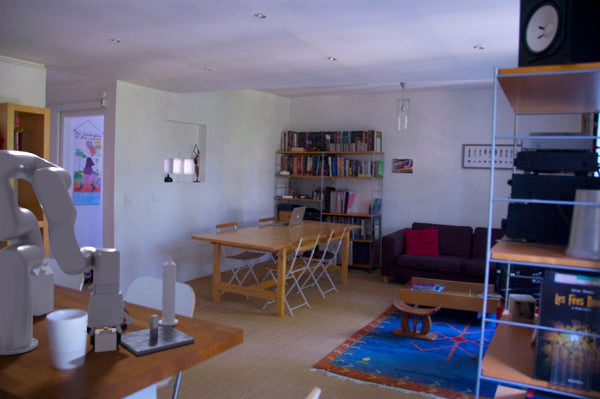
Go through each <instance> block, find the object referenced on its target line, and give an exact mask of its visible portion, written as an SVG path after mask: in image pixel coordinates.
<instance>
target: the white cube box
mask: <svg viewBox="0 0 600 399" xmlns="http://www.w3.org/2000/svg"><path fill="white" fill-rule="evenodd" d="M116 331H117V328H116V327H115V328H114V327H113V328H109V326H108V327H103V328H102V329H99V328H98V329H95V348H94V353H100V352H101V353H102V352H111V351H116V350H117V346H116Z"/></svg>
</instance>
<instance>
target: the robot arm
mask: <svg viewBox="0 0 600 399" xmlns="http://www.w3.org/2000/svg"><path fill="white" fill-rule="evenodd" d="M12 179H22V180H23V181H24V180H25V181H27V182H29V183H30V184H31V188H32V189H33V191H34V193H35V196H36V198H37V200H38V202H39V205H40V207H41V209H42V212H43V214H44V216H45V218H46V221H47V233H48V240H49V246H50V249H51V252H52V255H53V256H54V259H55V261H56V263H57V265H58V267H59V269H60V270H61V271H62V272H63V274H66V275H67V276H71V277H75V276H76V277H77V276H80V275H81V274H84V273H86V272H87V271H91V270H93V280H92V281H93V282H92V284H90V285H87V290H88V291H92V292H91V293H90V296H89V300H88V307H87V308H88V309H87V310H88V312H87V314H88V320H87V332H86V333H87V334H88V335H89V346H92V348H91V349H95V330H97V328H104V327H108V328H109V327H115V328H116V347H119V344H120V343H119V342H121V334H123V331H124V330H125V329H126V328H128V326H129V325H130V324H131V323H132V322H133V321H134V320H133V317H131V316H130V314H129V315H128V314H127V313H126V312H124V305H123V298H124V297H123V292H122V291H121V290H120V284H121V283H120V278H121V274H120V273H121V269H120V268H121V252H120V250H119V249H118V248H114V247H104V248H103V247H102V248H101V247H93V246H86V245H83V246H79V243H78V241H77V239H76V238H77V237H76V234H75V224H76V220H77V217H78V210H77V208H76V207H75V204H74V201H73V200H72V197H71V195H70V192H69V190H70V188H71V187H72V183H73V182H72V176H71V175H70V173H69V172H68V171H67V170H66V169H65V168H63V167H61V166H58V165H56V164H54V163H53V162H50V161H47V160H46V159H44V158H41V157H39V156H37V155H36V154H33V153H30V152H28V151H21V150H16V149H0V241H1V242H9V241H10V245H7V246H4V247H3V248H1V249H0V356H10V355H12V356H13V355H19V354H23V353H26V352H29V351H32V350H34V349H36V348H37V347H38V346H39V340H38V339H37V338H35V337H34V336H33V333H34V332H33V331H34V330H33V327H34V326H33V321H34V320H33V317H34V315H33V286H32V281H31V277H30V271H32V270H34V269H36V268H38V267H39V266H40V265H41V264H42V263H44V260H45V257H46V250H45V245H44V241H43V236H42V232H41V229H40V224H39V221H38V219H37V216H36V215H35V214H34V212H32V211H31V210H29V209H27V208H24V207H20V206H19V203H18V199H17V194H16V191H15V190H14V188H13V186H12V184H11V180H12ZM124 318H125V319H126V322H124V323H123V321H124ZM122 323H123V324H122ZM121 324H122V325H121Z"/></svg>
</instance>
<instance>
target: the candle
mask: <svg viewBox="0 0 600 399" xmlns="http://www.w3.org/2000/svg"><path fill="white" fill-rule="evenodd" d="M176 268H177V264H176V263H175V262H174V261H172V258H171V255H168V258H167V260H166V261H165V262H164V263H163V264H162V291H161V292H162V294H161V295H162V298H161V300H162V301H161V304H162V306H161V309H162V310H161V319H158V326H165V325H170V326H172V327H173V326H176V325H178V323H179V320H178V319H176V316H175V315H176V281H177V280H176V278H177V275H176V274H177V271H176V270H177V269H176Z"/></svg>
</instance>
